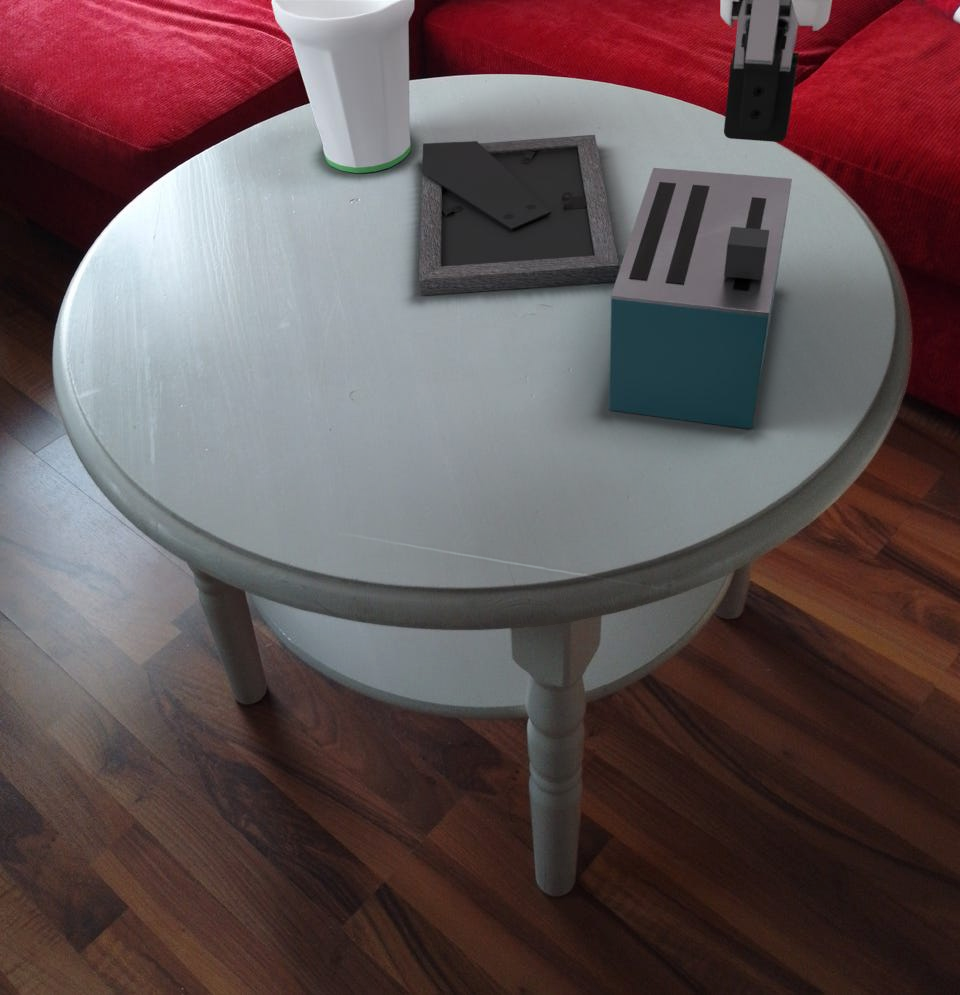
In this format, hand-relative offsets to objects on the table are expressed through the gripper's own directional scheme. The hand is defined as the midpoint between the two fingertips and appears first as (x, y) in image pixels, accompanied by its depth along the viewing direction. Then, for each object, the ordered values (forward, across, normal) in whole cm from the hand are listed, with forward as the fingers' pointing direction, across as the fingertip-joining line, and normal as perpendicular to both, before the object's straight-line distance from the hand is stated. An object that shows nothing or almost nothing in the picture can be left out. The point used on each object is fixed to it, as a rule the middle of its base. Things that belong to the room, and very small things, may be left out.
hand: (755, 131), depth 58 cm
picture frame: (+23, +25, +21) cm, 40 cm away
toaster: (+23, +10, +3) cm, 25 cm away
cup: (+23, +34, +38) cm, 56 cm away
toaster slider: (+13, +6, 0) cm, 14 cm away
